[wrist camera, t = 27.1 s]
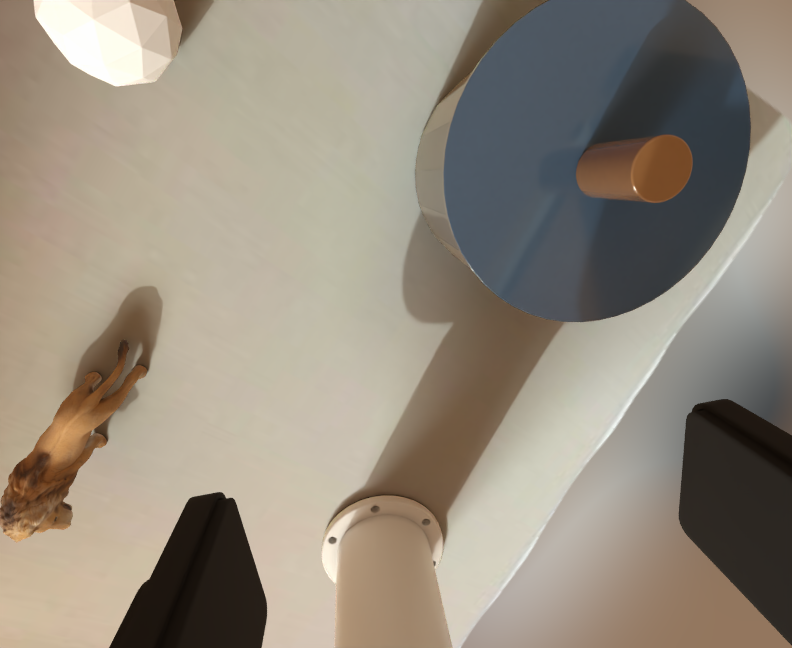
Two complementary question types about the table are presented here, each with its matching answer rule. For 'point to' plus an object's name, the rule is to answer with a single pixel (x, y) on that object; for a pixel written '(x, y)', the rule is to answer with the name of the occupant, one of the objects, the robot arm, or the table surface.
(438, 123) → the dark blue cylindrical pot
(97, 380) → the lion figurine
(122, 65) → the geometric ball
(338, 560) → the robot arm
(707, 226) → the lid
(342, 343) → the table surface
